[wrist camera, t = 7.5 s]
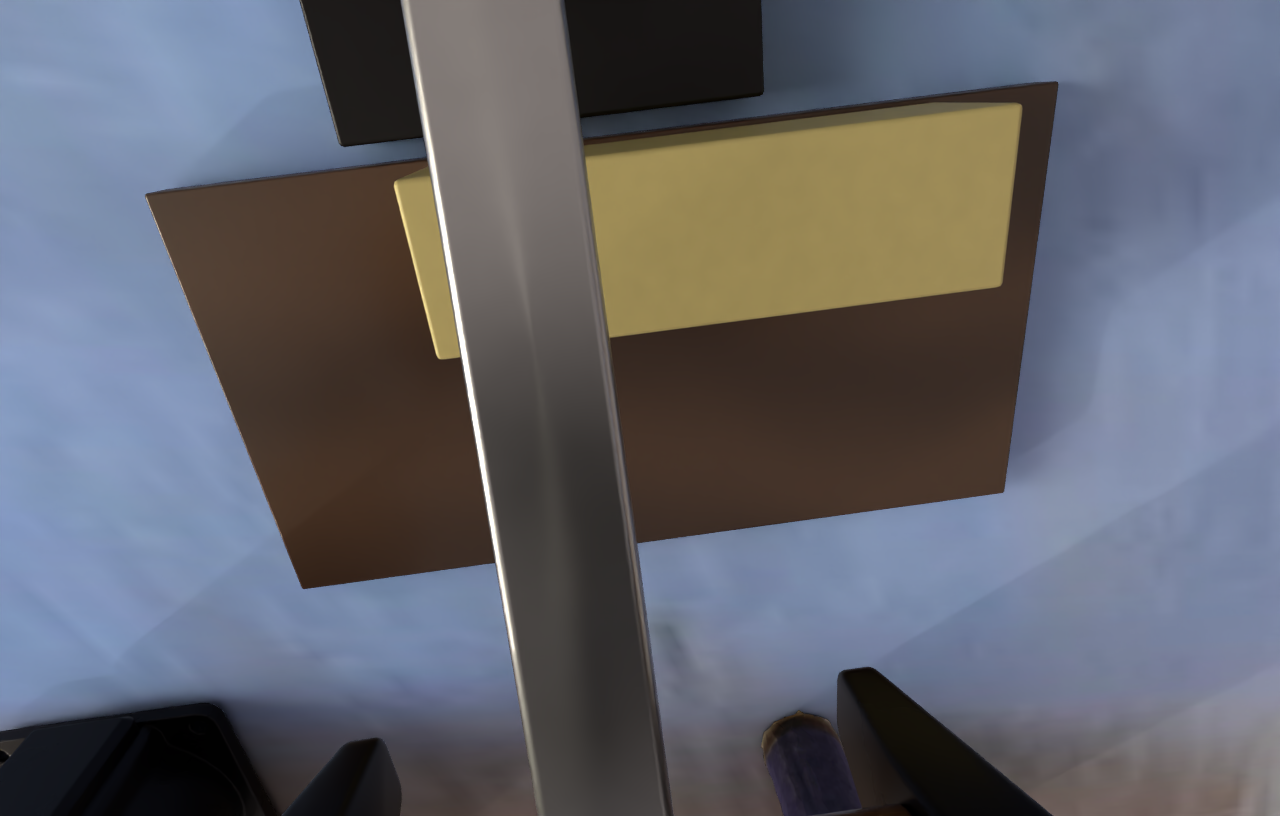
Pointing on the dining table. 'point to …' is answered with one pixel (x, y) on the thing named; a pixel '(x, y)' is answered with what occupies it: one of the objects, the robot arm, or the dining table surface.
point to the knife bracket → (600, 46)
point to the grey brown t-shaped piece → (544, 397)
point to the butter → (778, 217)
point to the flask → (808, 766)
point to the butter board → (643, 366)
